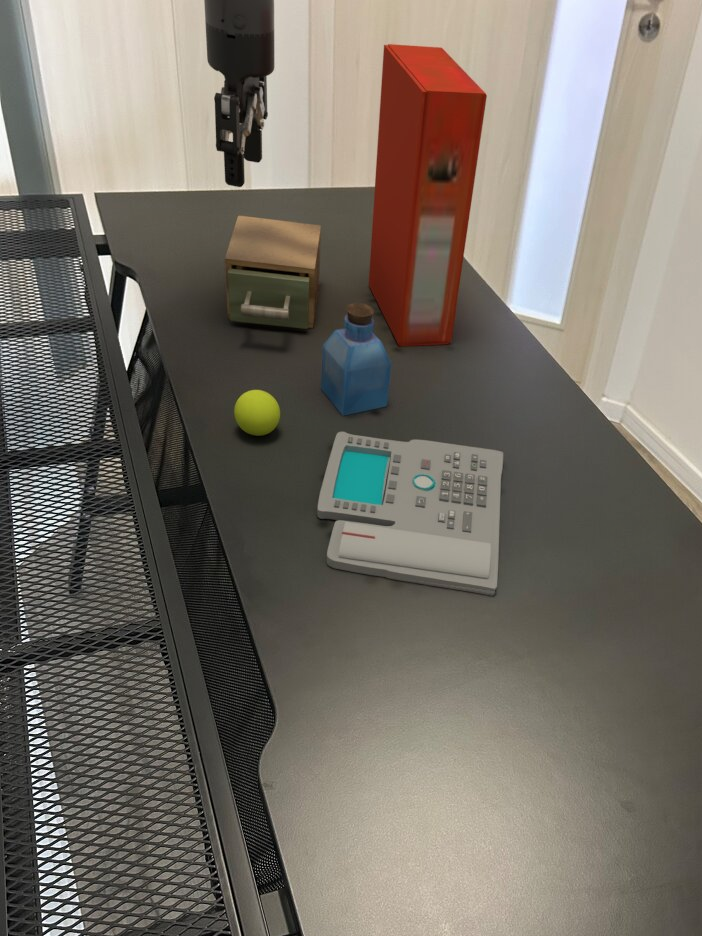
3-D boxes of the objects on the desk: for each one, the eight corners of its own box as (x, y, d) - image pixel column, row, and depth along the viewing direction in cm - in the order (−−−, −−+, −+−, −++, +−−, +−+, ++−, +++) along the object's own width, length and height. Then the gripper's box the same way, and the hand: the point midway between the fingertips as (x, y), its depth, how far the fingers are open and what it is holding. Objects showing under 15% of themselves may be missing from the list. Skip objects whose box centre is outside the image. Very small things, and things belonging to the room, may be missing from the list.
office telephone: (501, 579, 85) (302, 551, 84) (496, 597, 87) (301, 569, 86) (505, 442, 101) (338, 416, 100) (501, 459, 103) (337, 434, 102)
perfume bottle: (386, 406, 108) (396, 318, 99) (343, 415, 105) (348, 326, 96) (364, 380, 111) (371, 293, 103) (321, 389, 108) (324, 300, 100)
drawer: (305, 348, 113) (306, 300, 108) (224, 340, 111) (222, 291, 107) (313, 286, 125) (315, 240, 120) (241, 278, 124) (240, 231, 119)
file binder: (395, 346, 118) (422, 89, 95) (366, 286, 129) (384, 43, 106) (450, 344, 121) (489, 93, 98) (417, 285, 132) (445, 47, 109)
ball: (232, 442, 98) (230, 404, 95) (238, 416, 102) (236, 378, 98) (278, 446, 99) (277, 408, 95) (282, 420, 103) (282, 383, 99)
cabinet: (313, 328, 118) (314, 268, 112) (227, 319, 117) (224, 258, 111) (319, 282, 128) (321, 225, 122) (240, 273, 126) (238, 215, 120)
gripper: (224, 0, 100) (230, 148, 111) (186, 29, 90) (197, 188, 101) (287, 13, 100) (287, 159, 112) (257, 42, 90) (259, 199, 102)
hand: (244, 172), depth 106 cm, fingers open, 8 cm apart
